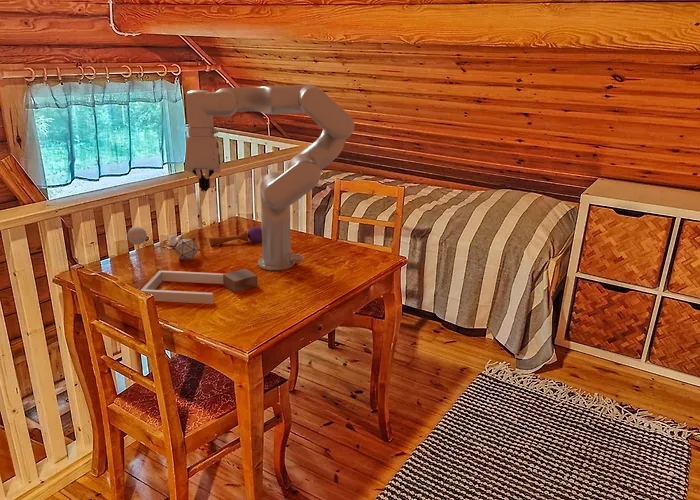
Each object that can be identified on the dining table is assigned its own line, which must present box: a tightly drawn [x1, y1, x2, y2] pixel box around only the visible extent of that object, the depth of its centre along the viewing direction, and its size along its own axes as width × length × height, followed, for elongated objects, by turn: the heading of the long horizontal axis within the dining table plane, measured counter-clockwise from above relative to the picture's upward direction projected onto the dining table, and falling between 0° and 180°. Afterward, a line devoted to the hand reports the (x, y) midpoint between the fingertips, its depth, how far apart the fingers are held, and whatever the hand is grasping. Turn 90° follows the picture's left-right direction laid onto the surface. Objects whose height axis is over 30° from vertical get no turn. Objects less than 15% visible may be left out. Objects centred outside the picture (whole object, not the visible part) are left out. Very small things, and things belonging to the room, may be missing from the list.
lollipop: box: [126, 225, 148, 271], centre depth 184 cm, size 6×6×15 cm
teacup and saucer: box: [166, 233, 180, 250], centre depth 209 cm, size 9×8×4 cm
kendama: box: [208, 226, 262, 247], centre depth 212 cm, size 6×6×20 cm
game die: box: [172, 236, 201, 262], centre depth 195 cm, size 9×8×10 cm
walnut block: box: [222, 268, 258, 294], centre depth 177 cm, size 8×7×4 cm
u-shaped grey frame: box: [140, 270, 224, 305], centre depth 172 cm, size 21×15×3 cm
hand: (204, 189), depth 181 cm, fingers closed
